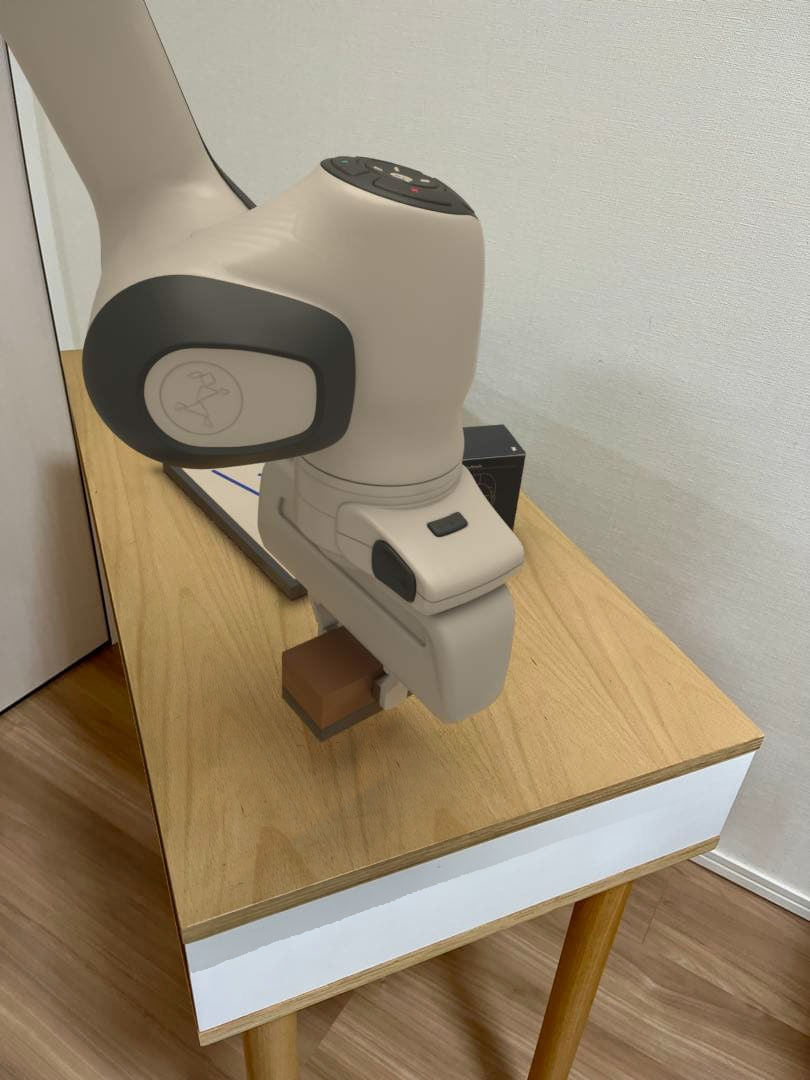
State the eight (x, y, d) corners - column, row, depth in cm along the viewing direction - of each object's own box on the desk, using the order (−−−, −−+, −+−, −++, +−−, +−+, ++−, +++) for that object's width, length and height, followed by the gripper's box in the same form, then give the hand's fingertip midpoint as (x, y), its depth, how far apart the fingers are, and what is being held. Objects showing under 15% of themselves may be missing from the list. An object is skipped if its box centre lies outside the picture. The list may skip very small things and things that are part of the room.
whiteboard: (291, 600, 67) (291, 586, 66) (163, 470, 82) (161, 457, 81) (414, 549, 74) (415, 536, 73) (276, 437, 89) (276, 426, 88)
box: (489, 520, 79) (505, 422, 72) (510, 555, 74) (528, 454, 68) (410, 527, 77) (420, 427, 70) (427, 564, 72) (439, 460, 66)
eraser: (320, 743, 49) (322, 697, 47) (281, 697, 52) (281, 651, 50) (433, 683, 54) (440, 639, 52) (392, 644, 57) (397, 600, 55)
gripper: (229, 422, 49) (236, 599, 57) (453, 613, 36) (422, 805, 44) (318, 399, 52) (313, 570, 60) (550, 567, 40) (505, 753, 48)
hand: (360, 671), depth 52 cm, fingers closed on eraser, 4 cm apart
